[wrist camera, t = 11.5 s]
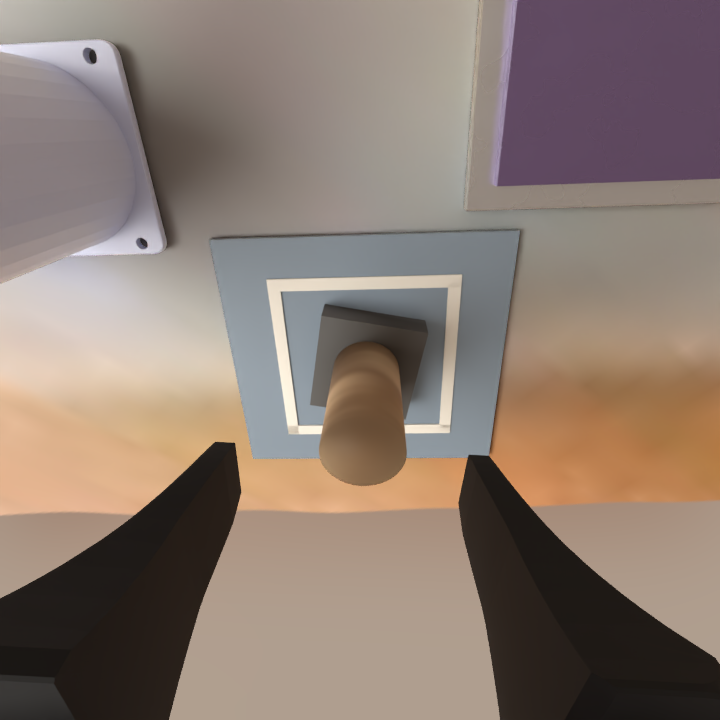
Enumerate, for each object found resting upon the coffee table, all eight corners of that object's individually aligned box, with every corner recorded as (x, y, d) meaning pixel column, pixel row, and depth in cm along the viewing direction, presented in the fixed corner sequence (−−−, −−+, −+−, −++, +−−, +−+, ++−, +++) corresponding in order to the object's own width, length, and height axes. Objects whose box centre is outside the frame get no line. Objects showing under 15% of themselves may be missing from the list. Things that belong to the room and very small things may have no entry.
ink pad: (463, 207, 19) (469, 213, 18) (490, -156, 14) (502, -185, 12) (723, 199, 18) (748, 204, 17) (855, -182, 13) (906, -215, 12)
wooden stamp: (313, 389, 23) (288, 493, 17) (324, 304, 21) (300, 384, 14) (403, 403, 23) (415, 510, 17) (425, 320, 21) (447, 407, 14)
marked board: (254, 455, 26) (252, 459, 26) (211, 238, 20) (208, 240, 19) (487, 454, 25) (489, 458, 25) (517, 229, 19) (520, 231, 19)
